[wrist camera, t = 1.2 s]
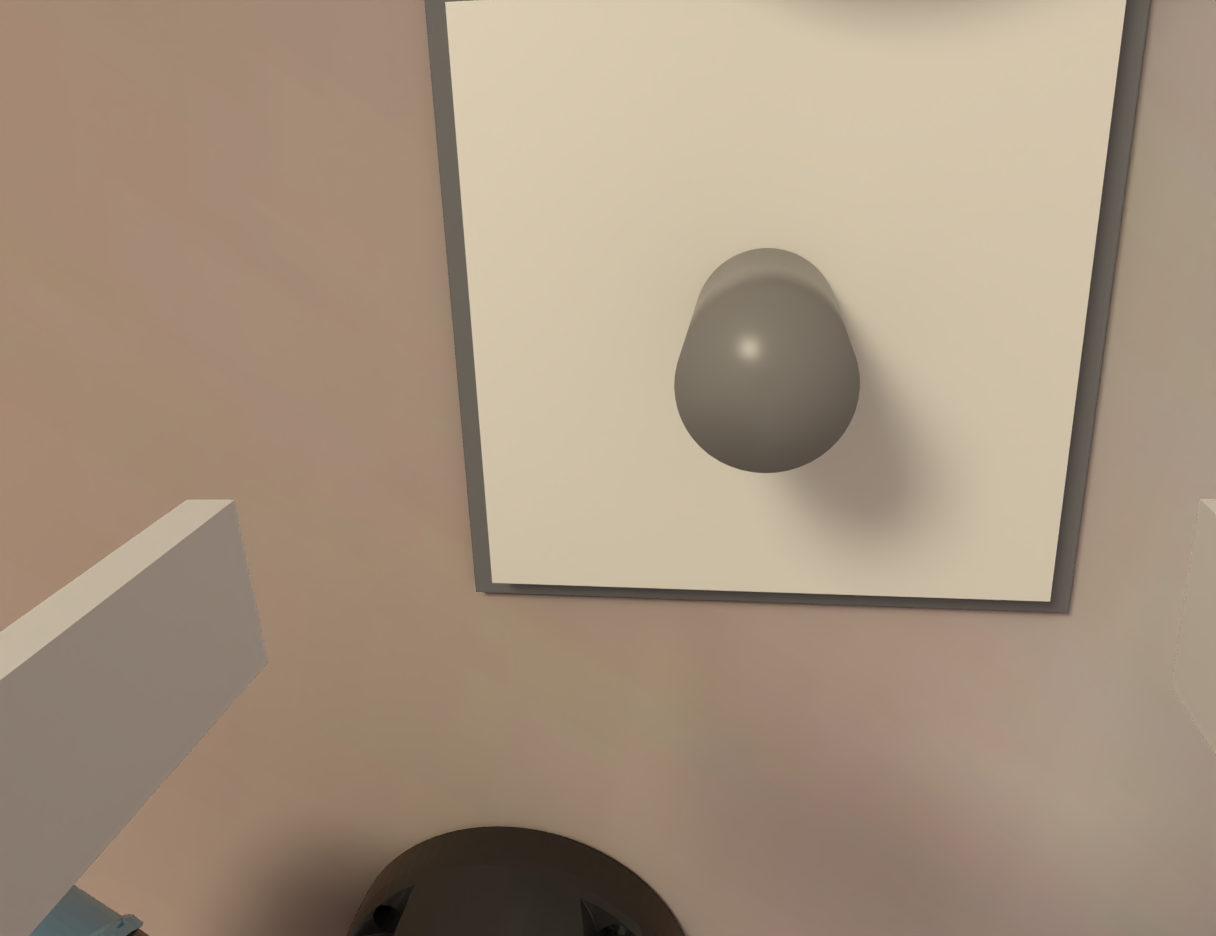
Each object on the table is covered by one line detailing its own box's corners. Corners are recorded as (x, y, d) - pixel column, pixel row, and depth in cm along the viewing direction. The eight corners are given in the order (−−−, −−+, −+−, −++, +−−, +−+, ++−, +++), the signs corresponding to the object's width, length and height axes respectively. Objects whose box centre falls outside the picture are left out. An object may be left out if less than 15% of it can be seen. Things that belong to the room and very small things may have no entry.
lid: (1041, 585, 35) (1131, 745, 26) (500, 568, 37) (422, 707, 29) (1115, -29, 28) (1269, -84, 20) (456, 5, 31) (339, -30, 22)
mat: (1064, 605, 35) (1068, 612, 35) (479, 585, 38) (476, 591, 38) (1153, -69, 28) (1159, -72, 28) (426, -28, 31) (422, -29, 31)
